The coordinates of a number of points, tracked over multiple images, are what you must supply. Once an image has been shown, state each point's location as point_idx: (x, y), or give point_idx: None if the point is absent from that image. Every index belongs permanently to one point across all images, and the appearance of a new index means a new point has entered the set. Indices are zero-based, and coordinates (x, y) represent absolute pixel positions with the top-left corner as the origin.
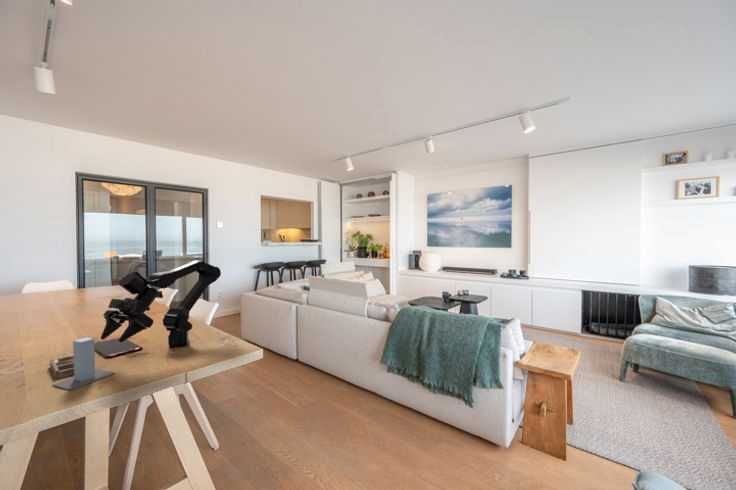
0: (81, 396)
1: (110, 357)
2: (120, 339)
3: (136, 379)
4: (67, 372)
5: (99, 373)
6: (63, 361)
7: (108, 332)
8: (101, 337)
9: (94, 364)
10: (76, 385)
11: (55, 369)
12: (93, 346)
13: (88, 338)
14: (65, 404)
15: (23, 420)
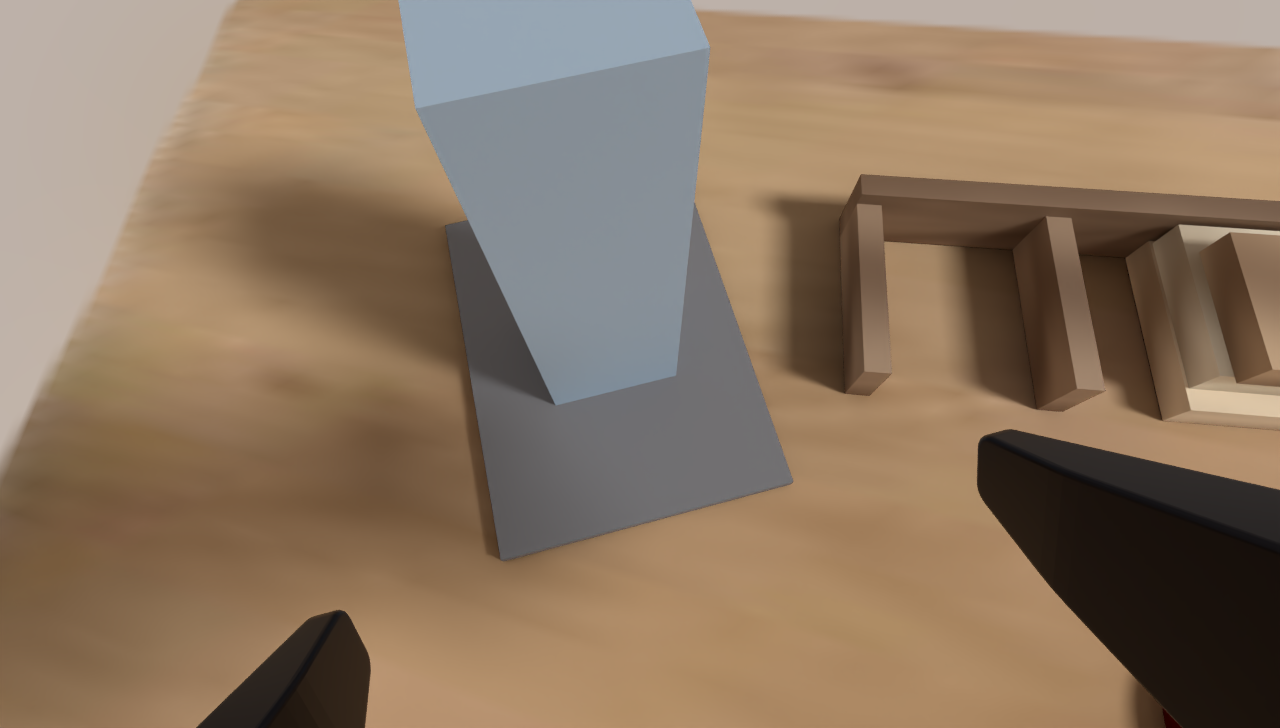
0: (254, 253)
1: (1172, 722)
2: (282, 650)
3: (121, 647)
4: (849, 266)
5: (620, 455)
6: (1191, 277)
7: (1149, 609)
8: (992, 439)
9: (533, 352)
10: (486, 266)
11: (919, 181)
12: (468, 209)
13: (563, 54)
14: (227, 171)
15: (243, 25)
